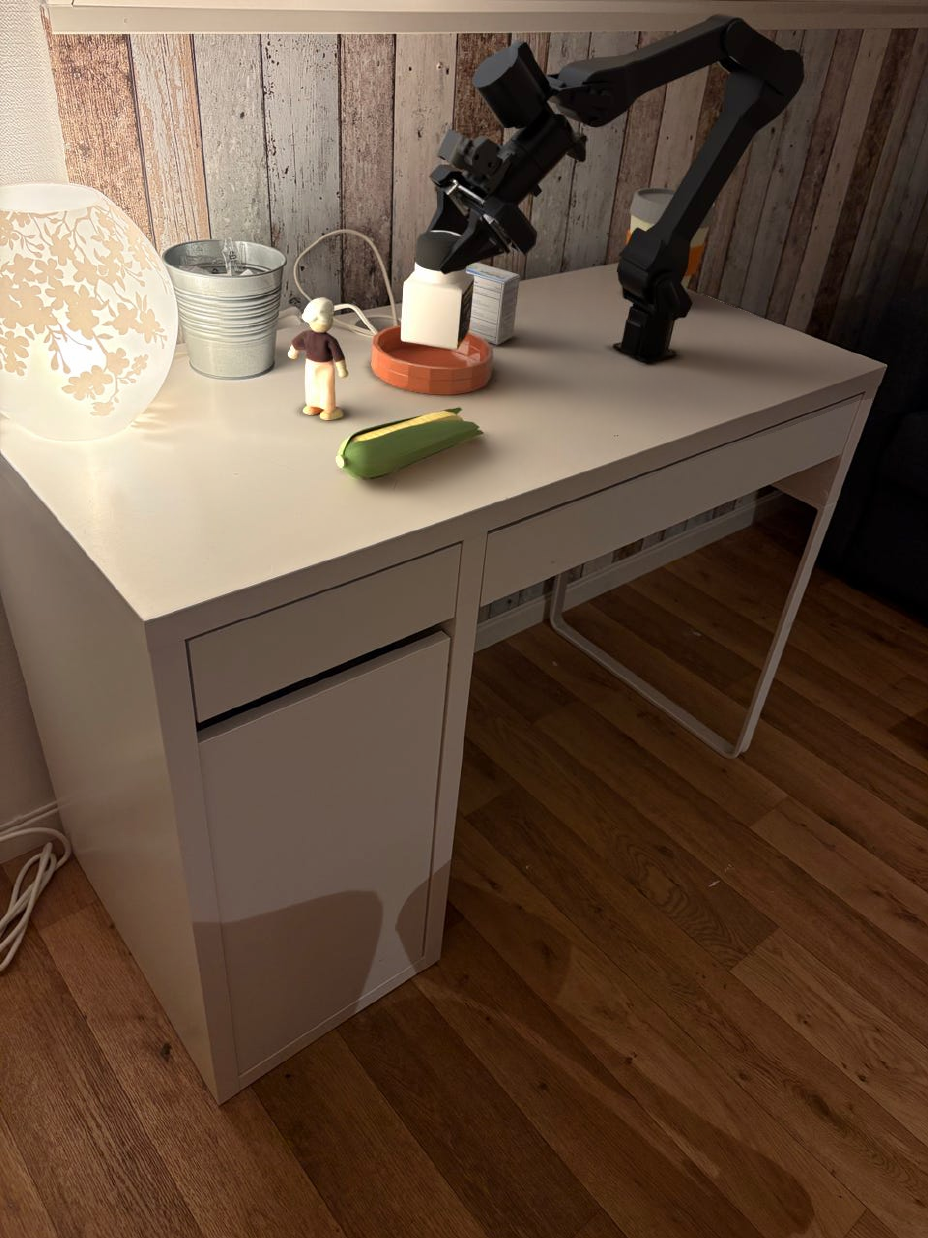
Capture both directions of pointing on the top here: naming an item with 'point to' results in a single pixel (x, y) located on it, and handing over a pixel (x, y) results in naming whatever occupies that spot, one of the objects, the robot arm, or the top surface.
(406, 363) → the plant saucer
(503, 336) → the medicine box
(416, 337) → the medicine bottle
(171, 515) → the top surface
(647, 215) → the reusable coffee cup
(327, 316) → the grandmother figurine
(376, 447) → the edible corn
